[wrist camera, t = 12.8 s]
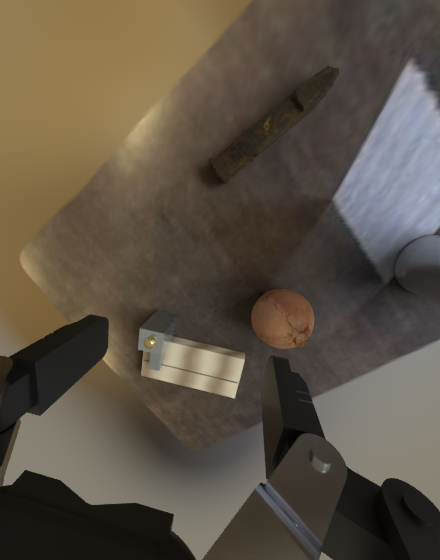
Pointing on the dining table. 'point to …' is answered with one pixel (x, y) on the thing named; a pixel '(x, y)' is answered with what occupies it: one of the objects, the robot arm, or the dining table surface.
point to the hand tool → (273, 124)
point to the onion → (283, 318)
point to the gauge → (157, 336)
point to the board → (198, 366)
